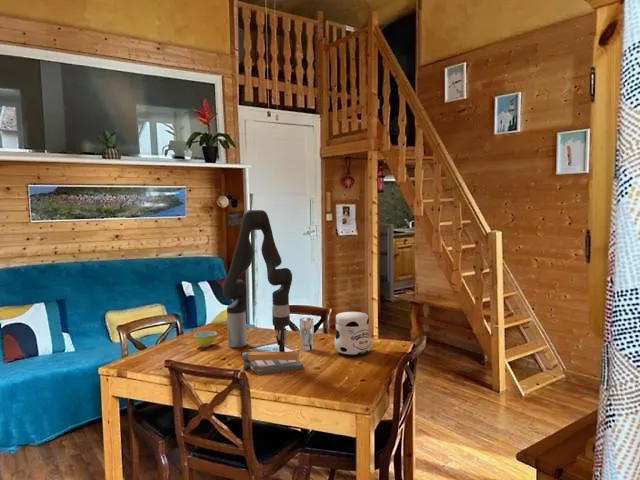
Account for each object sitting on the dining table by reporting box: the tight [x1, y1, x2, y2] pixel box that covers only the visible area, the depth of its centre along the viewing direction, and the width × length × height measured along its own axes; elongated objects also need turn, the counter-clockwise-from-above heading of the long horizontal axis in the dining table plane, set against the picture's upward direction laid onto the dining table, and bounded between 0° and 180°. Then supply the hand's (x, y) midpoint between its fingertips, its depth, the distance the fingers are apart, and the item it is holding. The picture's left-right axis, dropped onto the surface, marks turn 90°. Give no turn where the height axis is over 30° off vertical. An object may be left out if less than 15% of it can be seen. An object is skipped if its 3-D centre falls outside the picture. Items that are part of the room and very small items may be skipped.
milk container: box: [333, 311, 372, 357], centre depth 228 cm, size 17×17×18 cm
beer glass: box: [299, 317, 315, 352], centre depth 235 cm, size 7×7×15 cm
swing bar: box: [241, 351, 299, 361], centre depth 208 cm, size 24×4×2 cm, turn 87°
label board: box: [250, 359, 304, 375], centre depth 211 cm, size 14×20×2 cm
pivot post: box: [243, 360, 252, 371], centre depth 209 cm, size 3×3×4 cm
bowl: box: [193, 330, 218, 348], centre depth 246 cm, size 11×12×6 cm
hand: (281, 353), depth 211 cm, fingers closed
